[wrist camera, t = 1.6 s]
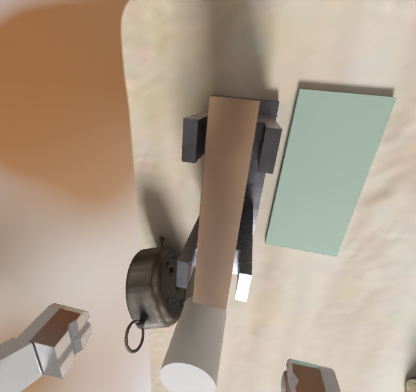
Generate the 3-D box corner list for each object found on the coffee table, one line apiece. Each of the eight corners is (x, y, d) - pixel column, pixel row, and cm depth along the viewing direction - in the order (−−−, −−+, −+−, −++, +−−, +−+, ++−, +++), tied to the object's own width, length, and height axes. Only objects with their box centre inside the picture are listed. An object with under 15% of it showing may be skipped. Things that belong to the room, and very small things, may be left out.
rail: (259, 100, 17) (260, 101, 15) (229, 284, 25) (225, 309, 22) (217, 96, 18) (209, 96, 15) (199, 278, 25) (192, 302, 22)
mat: (392, 97, 26) (396, 97, 25) (334, 253, 34) (336, 256, 33) (298, 89, 27) (299, 88, 26) (265, 240, 36) (265, 243, 35)
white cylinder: (179, 294, 43) (153, 360, 32) (222, 295, 41) (210, 365, 30) (187, 326, 46) (166, 396, 35) (228, 328, 44) (219, 403, 33)
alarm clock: (150, 232, 39) (86, 313, 24) (180, 228, 38) (131, 311, 23) (170, 284, 43) (125, 382, 28) (198, 281, 41) (166, 384, 26)
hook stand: (278, 101, 28) (300, 105, 14) (253, 230, 35) (252, 315, 21) (212, 95, 29) (173, 92, 15) (201, 221, 36) (168, 296, 23)
